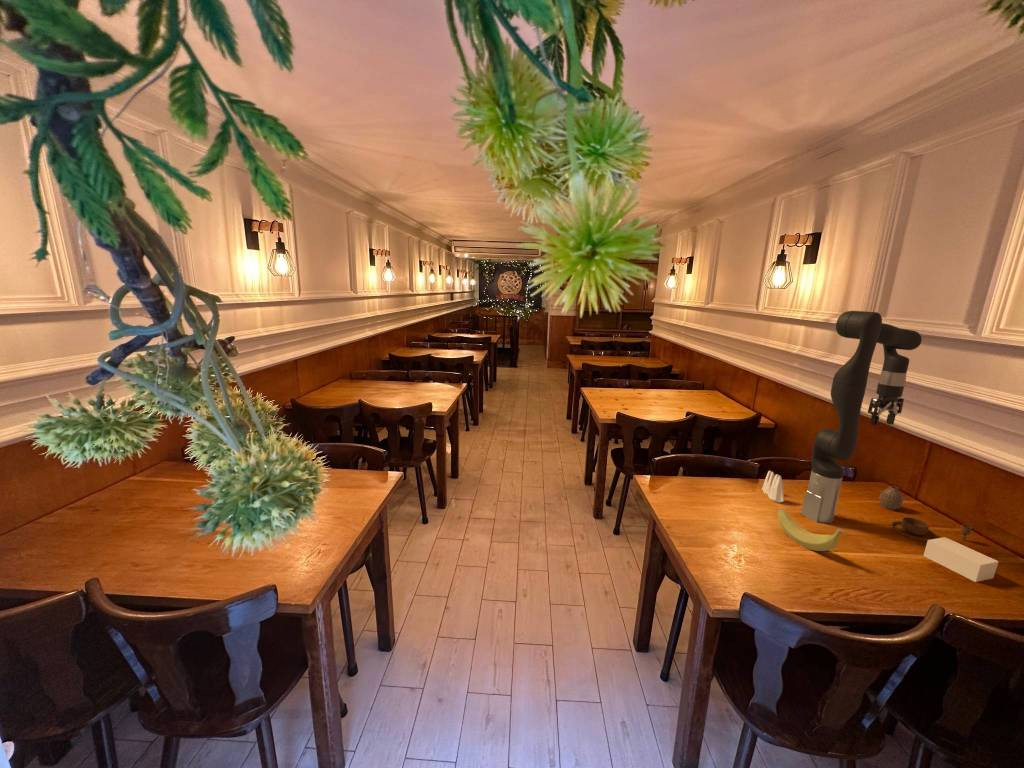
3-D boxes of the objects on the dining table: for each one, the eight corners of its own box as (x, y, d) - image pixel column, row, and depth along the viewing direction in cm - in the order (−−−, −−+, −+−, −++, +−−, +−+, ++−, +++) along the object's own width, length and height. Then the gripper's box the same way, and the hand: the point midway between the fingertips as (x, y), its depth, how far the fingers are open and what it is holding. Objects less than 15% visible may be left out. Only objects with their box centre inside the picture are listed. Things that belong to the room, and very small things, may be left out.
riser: (975, 583, 126) (980, 565, 125) (923, 557, 138) (927, 540, 137) (992, 579, 128) (998, 561, 127) (940, 553, 141) (944, 537, 139)
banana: (795, 549, 147) (856, 549, 130) (784, 551, 145) (843, 551, 128) (783, 508, 152) (839, 502, 134) (771, 509, 150) (827, 504, 132)
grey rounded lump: (905, 512, 168) (910, 491, 166) (887, 511, 168) (892, 490, 166) (890, 503, 174) (895, 483, 172) (873, 503, 174) (878, 482, 172)
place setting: (892, 519, 163) (895, 504, 162) (968, 541, 150) (972, 526, 148) (888, 536, 151) (892, 521, 149) (970, 562, 137) (975, 546, 136)
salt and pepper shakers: (783, 506, 169) (788, 479, 166) (772, 504, 169) (777, 478, 167) (771, 492, 180) (776, 467, 178) (760, 491, 181) (765, 466, 179)
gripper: (888, 386, 157) (878, 428, 161) (916, 385, 161) (905, 426, 165) (867, 381, 164) (858, 422, 168) (893, 380, 168) (884, 420, 172)
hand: (881, 424), depth 166 cm, fingers open, 8 cm apart
